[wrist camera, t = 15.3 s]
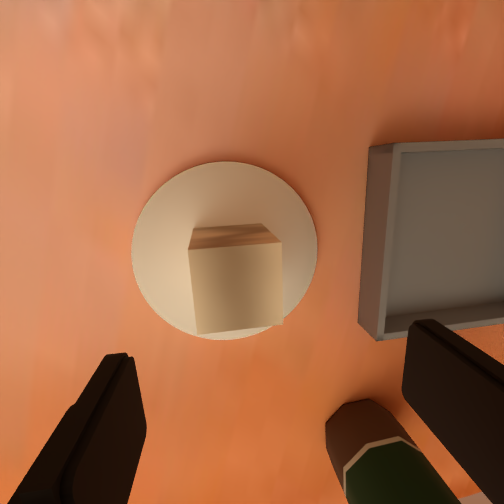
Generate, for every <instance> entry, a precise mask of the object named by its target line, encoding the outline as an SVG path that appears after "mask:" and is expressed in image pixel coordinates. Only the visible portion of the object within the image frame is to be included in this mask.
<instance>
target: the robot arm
mask: <svg viewBox="0 0 504 504" xmlns="http://www.w3.org/2000/svg"><path fill="white" fill-rule="evenodd" d="M402 393H403V396H404V398H405V400H406V401H407V402H408V404H409V405H410V406H411V407H412V408H413V409H414V411H415V412H416V413H417V414H418V415H419V417H420V418H421V419H422V420H423V421H424V423H425V424H426V425H427V426H428V427H429V429H430V430H431V431H432V432H433V433H434V435H435V436H436V437H437V438H438V439H439V440H440V442H441V443H442V444H443V445H444V446H445V448H446V449H447V450H448V451H449V452H450V454H451V455H452V456H453V457H454V458H455V460H456V461H457V462H458V463H459V464H460V465H461V467H462V468H463V469H464V470H465V471H466V473H467V474H468V475H469V476H470V477H471V479H472V480H473V481H474V482H475V483H476V485H477V486H478V487H479V488H480V489H481V490H482V492H483V493H484V494H485V495H486V496H487V498H488V499H489V500H490V501H491V502H492V503H493V504H504V365H503V364H501V363H500V362H498V361H497V360H495V359H494V358H492V357H491V356H489V355H488V354H486V353H485V352H483V351H482V350H480V349H479V348H477V347H475V346H474V345H472V344H471V343H469V342H468V341H466V340H465V339H463V338H462V337H460V336H459V335H457V334H456V333H454V332H453V331H451V330H450V329H448V328H447V327H445V326H444V325H442V324H441V323H439V322H438V321H436V320H434V319H421V320H415V321H414V322H413V323H412V325H410V326H409V329H408V337H407V346H406V355H405V363H404V372H403V381H402ZM146 430H147V425H146V419H145V414H144V409H143V403H142V398H141V393H140V387H139V382H138V377H137V372H136V366H135V361H134V358H133V357H128V355H127V353H117V354H108V355H106V356H105V357H104V358H103V360H102V361H101V363H100V365H99V366H98V368H97V369H96V371H95V373H94V374H93V376H92V377H91V379H90V381H89V382H88V384H87V385H86V387H85V389H84V390H83V392H82V393H81V395H80V397H79V398H78V400H77V401H76V403H75V404H74V405H72V406H70V408H69V409H68V410H67V411H66V413H65V415H64V416H63V418H62V419H61V421H60V422H59V424H58V425H57V427H56V429H55V430H54V432H53V433H52V435H51V436H50V438H49V440H48V441H47V443H46V444H45V446H44V447H43V449H42V450H41V452H40V454H39V455H38V457H37V458H36V460H35V461H34V463H33V464H32V466H31V468H30V469H29V471H28V472H27V474H26V475H25V477H24V478H23V480H22V482H21V483H20V485H19V486H18V488H17V489H16V491H15V493H14V494H13V496H12V497H11V499H10V500H9V502H8V503H7V504H127V503H128V499H129V496H130V492H131V488H132V485H133V481H134V477H135V474H136V470H137V466H138V463H139V459H140V456H141V452H142V448H143V445H144V441H145V437H146Z"/></svg>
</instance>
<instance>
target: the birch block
mask: <svg viewBox="0 0 504 504" xmlns="http://www.w3.org/2000/svg"><path fill="white" fill-rule="evenodd" d="M188 258H189V267H190V276H191V284H192V293H193V302H194V311H195V320H196V328H197V335H202V334H210V333H218V332H226V331H234V330H242V329H250V328H259V327H267V326H275V325H283V279H282V242H281V241H280V240H279V239H278V238H277V237H276V236H275V235H274V234H272V233H271V232H270V231H269V230H268V229H267V228H266V227H265V226H264V225H263V224H262V223H258V224H244V225H230V226H217V227H203V228H193V231H192V235H191V239H190V243H189V247H188Z"/></svg>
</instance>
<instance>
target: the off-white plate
mask: <svg viewBox="0 0 504 504" xmlns="http://www.w3.org/2000/svg"><path fill="white" fill-rule="evenodd" d="M258 223H262V224H263V225H264V226H265V227H266V228H267V229H268V230H269V231H270V232H271V233H272V234H274V235H275V236H276V237H277V238H278V239H279V240H280V241H281V242H282V279H283V318H285V317H286V316H287V315H288V314H289V313H290V312H291V311H292V310H293V309H294V308H295V307H296V306H297V304H298V303H299V302H300V301H301V299H302V298H303V296H304V295H305V293H306V291H307V289H308V287H309V285H310V283H311V280H312V278H313V275H314V272H315V267H316V262H317V251H318V249H317V236H316V231H315V227H314V223H313V220H312V217H311V215H310V213H309V211H308V209H307V207H306V205H305V204H304V202H303V201H302V199H301V198H300V196H299V195H298V194H297V193H296V192H295V191H294V190H293V188H292V187H290V186H289V185H288V184H287V183H286V182H285V181H283V180H282V179H281V178H279V177H277V176H276V175H274V174H273V173H271V172H269V171H267V170H265V169H262V168H260V167H257V166H254V165H250V164H246V163H240V162H225V161H221V162H213V163H206V164H203V165H199V166H195V167H193V168H190V169H188V170H185V171H183V172H181V173H179V174H178V175H176V176H174V177H173V178H171V179H170V180H169V181H167V182H166V183H165V184H163V185H162V186H161V187H160V188H159V189H158V190H157V191H156V192H155V193H154V194H153V195H152V196H151V198H150V199H149V201H148V202H147V204H146V205H145V206H144V208H143V210H142V212H141V214H140V216H139V218H138V220H137V223H136V226H135V229H134V234H133V239H132V250H131V257H132V267H133V271H134V275H135V279H136V282H137V284H138V286H139V289H140V291H141V293H142V294H143V296H144V298H145V300H146V301H147V302H148V304H149V305H150V306H151V307H152V309H153V310H154V311H155V312H156V313H157V314H158V315H159V316H160V317H161V318H163V319H164V320H165V321H166V322H168V323H169V324H170V325H172V326H174V327H176V328H177V329H179V330H181V331H183V332H186V333H188V334H191V335H194V336H197V337H201V338H207V339H213V340H231V339H239V338H244V337H248V336H251V335H254V334H257V333H260V332H262V331H264V330H267V329H268V328H270V327H272V326H267V327H259V328H250V329H242V330H234V331H226V332H218V333H210V334H202V335H197V328H196V320H195V311H194V302H193V293H192V284H191V276H190V267H189V258H188V247H189V243H190V239H191V235H192V231H193V228H203V227H217V226H230V225H244V224H258Z"/></svg>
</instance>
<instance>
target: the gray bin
mask: <svg viewBox="0 0 504 504" xmlns="http://www.w3.org/2000/svg"><path fill="white" fill-rule="evenodd" d="M421 319H434V320H436V321H438V322H439V323H441V324H442V325H444V326H445V327H447V328H448V329H450V330H451V331H453V330H461V329H468V328H475V327H482V326H489V325H496V324H503V323H504V139H484V140H459V141H434V142H409V143H391V144H385V145H379V146H373V147H369V157H368V172H367V187H366V203H365V218H364V234H363V249H362V264H361V280H360V295H359V311H358V323H359V324H360V325H361V326H362V327H363V328H364V329H365V330H366V331H367V332H368V333H369V334H370V335H371V336H372V337H373V338H374V339H375V340H376V341H382V340H390V339H397V338H404V337H408V329H409V326H410V325H412V323H413V322H414V321H415V320H421Z"/></svg>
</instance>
